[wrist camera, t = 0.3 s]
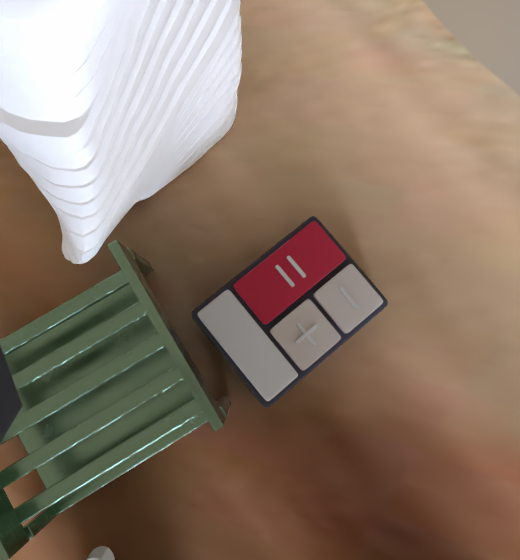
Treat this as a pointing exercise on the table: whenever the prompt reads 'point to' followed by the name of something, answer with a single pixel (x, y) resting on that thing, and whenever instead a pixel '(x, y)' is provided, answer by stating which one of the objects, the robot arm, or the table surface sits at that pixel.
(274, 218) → the table surface
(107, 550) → the bunny figurine
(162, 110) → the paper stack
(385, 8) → the table surface
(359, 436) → the table surface
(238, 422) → the table surface
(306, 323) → the calculator
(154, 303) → the rack
